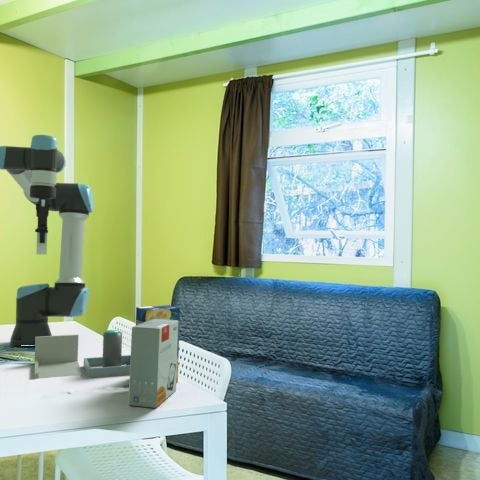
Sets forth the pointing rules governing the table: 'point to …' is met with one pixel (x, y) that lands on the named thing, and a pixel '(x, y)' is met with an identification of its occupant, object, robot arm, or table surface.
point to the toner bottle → (112, 348)
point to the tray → (106, 370)
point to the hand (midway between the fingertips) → (41, 253)
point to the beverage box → (159, 313)
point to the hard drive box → (153, 362)
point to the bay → (56, 356)
